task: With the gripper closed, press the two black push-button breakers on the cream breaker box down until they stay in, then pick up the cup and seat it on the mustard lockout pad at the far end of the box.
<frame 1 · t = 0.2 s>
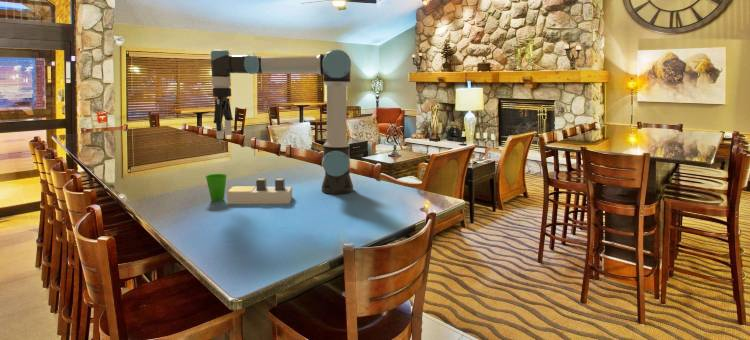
hand: (224, 136, 206), 28 cm above the table, fingers open, 13 cm apart
breaker a: (280, 186, 207), point 6 cm above the table, slide at 0.0 cm
breaker box: (260, 200, 208), on the table
cup: (217, 200, 208), on the table
breaker b: (261, 186, 206), point 6 cm above the table, slide at 0.0 cm
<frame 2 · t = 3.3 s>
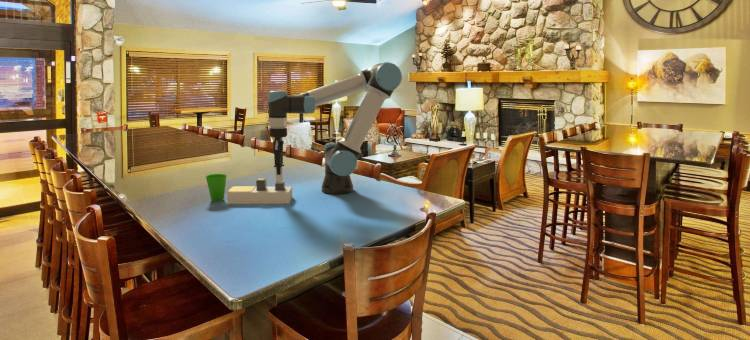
hand: (279, 181, 206), 9 cm above the table, fingers closed
breaker a: (280, 189, 207), point 5 cm above the table, slide at 1.4 cm, touching gripper
everything else where it was.
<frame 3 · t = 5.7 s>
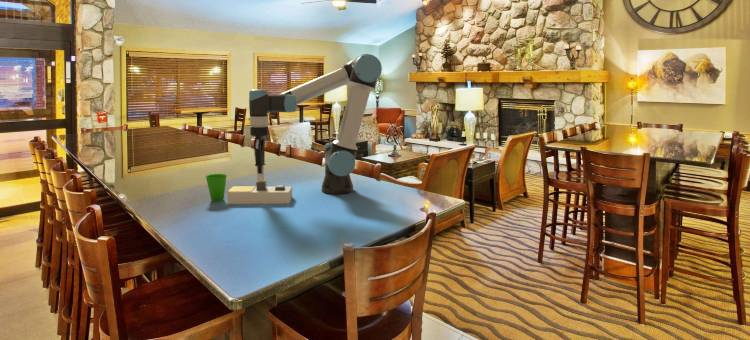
hand: (260, 180, 206), 9 cm above the table, fingers closed
breaker a: (280, 192, 207), point 3 cm above the table, slide at 3.1 cm
breaker b: (261, 187, 206), point 6 cm above the table, slide at 0.8 cm, touching gripper
everything else where it was.
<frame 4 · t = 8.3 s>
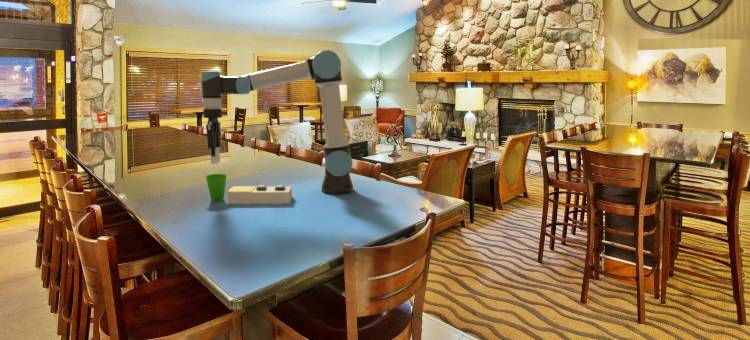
hand: (215, 162, 204), 17 cm above the table, fingers open, 3 cm apart
breaker b: (261, 193, 207), point 3 cm above the table, slide at 3.1 cm
everything else where it was.
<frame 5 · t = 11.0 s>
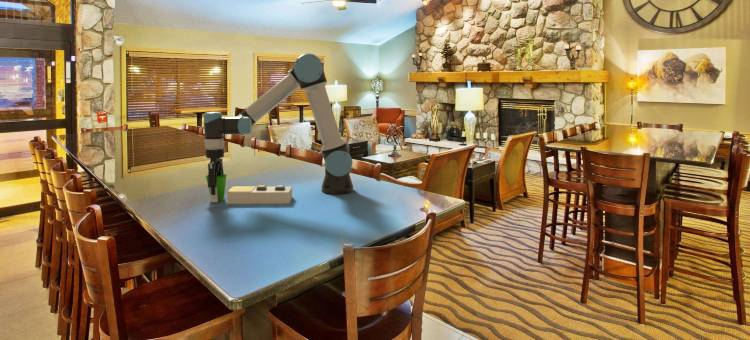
hand: (217, 199, 207), 0 cm above the table, fingers closed on cup, 9 cm apart
cup: (217, 200, 208), on the table, touching gripper
everything else where it was.
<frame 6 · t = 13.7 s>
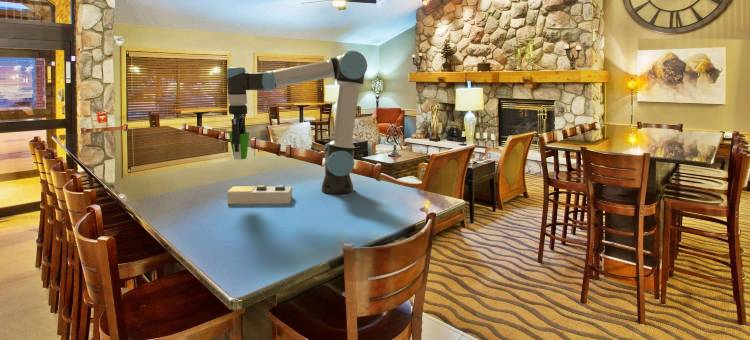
hand: (240, 157, 204), 19 cm above the table, fingers closed on cup, 9 cm apart
cup: (240, 159, 204), point 18 cm above the table, touching gripper
everything else where it was.
when the fingers open (7 cm above the table, at t = 16.4 s): cup drops 1 cm, resting on breaker box.
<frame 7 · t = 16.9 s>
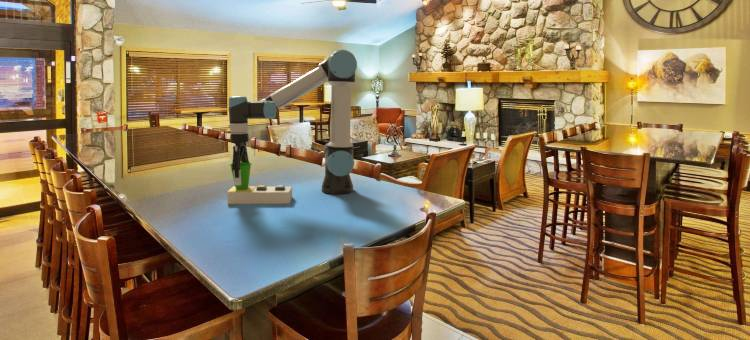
hand: (241, 181, 206), 8 cm above the table, fingers open, 13 cm apart
cup: (241, 189, 206), point 5 cm above the table, touching breaker box
everything else where it was.
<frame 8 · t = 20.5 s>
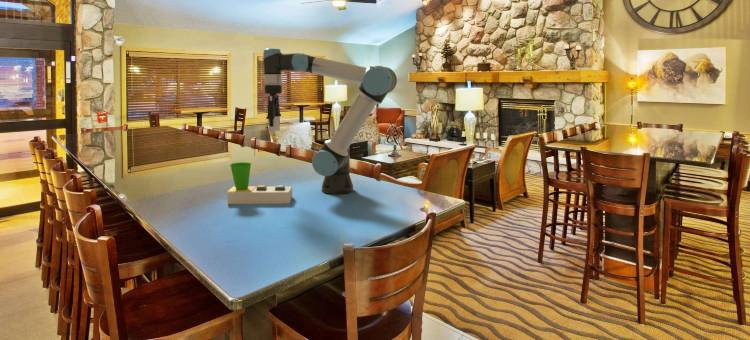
hand: (274, 132, 214), 29 cm above the table, fingers open, 13 cm apart
nothing on the table moved.
at the end: breaker a slide at 3.1 cm; breaker b slide at 3.1 cm; cup inside the target area on the breaker box (0.0 cm from its centre), point 5.1 cm above the breaker box's base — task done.
